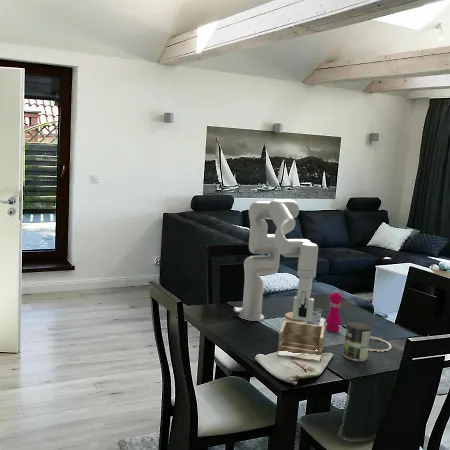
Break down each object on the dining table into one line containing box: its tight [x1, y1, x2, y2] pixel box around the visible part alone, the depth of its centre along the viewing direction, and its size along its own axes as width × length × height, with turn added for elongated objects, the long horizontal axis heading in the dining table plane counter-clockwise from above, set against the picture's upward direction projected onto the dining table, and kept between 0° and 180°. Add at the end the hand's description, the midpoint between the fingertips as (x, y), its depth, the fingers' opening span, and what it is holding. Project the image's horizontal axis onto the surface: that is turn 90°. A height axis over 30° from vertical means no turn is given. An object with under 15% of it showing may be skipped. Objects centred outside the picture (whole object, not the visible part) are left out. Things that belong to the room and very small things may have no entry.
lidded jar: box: [284, 311, 308, 324], centre depth 259 cm, size 11×11×9 cm
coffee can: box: [342, 320, 372, 362], centre depth 234 cm, size 10×10×14 cm
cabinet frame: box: [277, 320, 326, 355], centre depth 235 cm, size 18×16×10 cm
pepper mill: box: [325, 289, 343, 333], centre depth 265 cm, size 7×7×20 cm
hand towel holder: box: [368, 336, 392, 353], centre depth 251 cm, size 17×4×21 cm
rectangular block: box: [292, 295, 315, 322], centre depth 229 cm, size 8×3×9 cm, turn 76°
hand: (302, 315), depth 230 cm, fingers closed on rectangular block, 3 cm apart
